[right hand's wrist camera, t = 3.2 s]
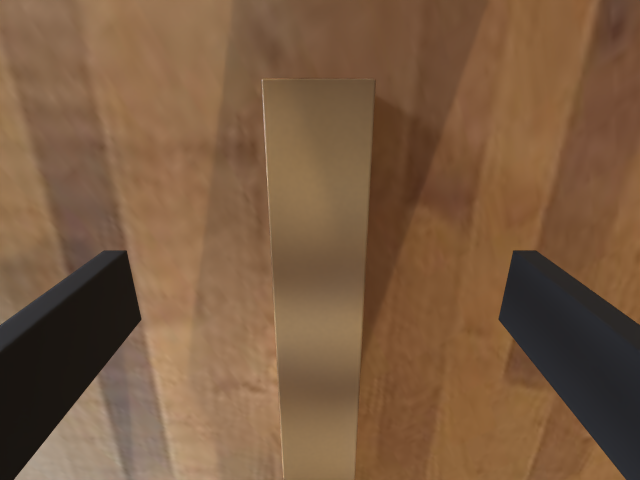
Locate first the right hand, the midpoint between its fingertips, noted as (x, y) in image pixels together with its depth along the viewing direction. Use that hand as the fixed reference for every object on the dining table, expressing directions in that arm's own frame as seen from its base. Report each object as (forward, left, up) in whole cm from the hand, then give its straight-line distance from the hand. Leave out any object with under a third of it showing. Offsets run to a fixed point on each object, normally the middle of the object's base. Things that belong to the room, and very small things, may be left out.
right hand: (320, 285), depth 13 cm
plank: (+6, -19, -13) cm, 24 cm away
